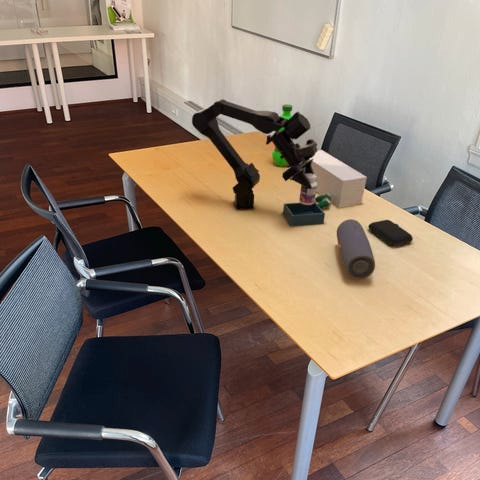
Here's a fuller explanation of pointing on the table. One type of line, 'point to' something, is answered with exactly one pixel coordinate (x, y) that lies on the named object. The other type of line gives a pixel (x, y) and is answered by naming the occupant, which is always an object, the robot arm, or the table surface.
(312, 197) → the pill bottle
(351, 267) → the bluetooth speaker
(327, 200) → the gaming controller
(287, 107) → the plastic bottle
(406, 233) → the carrying case
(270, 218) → the table surface
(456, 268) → the table surface
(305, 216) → the tray
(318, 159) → the long white box
